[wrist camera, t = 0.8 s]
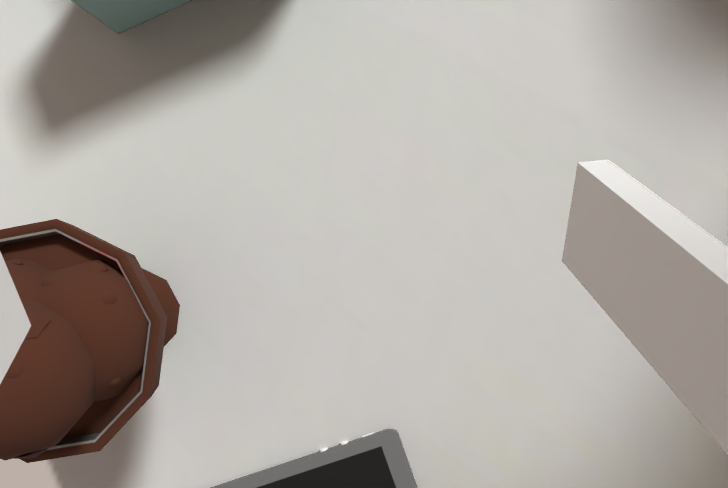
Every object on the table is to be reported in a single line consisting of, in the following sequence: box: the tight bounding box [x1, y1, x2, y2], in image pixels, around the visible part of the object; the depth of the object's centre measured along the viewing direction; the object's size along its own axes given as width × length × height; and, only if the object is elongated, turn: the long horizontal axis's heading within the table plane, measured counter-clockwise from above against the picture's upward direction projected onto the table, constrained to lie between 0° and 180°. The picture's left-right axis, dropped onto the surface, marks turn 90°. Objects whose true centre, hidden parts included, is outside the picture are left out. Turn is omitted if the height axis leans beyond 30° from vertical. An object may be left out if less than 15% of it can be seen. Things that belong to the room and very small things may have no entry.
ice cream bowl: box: [0, 219, 180, 463], centre depth 28 cm, size 11×11×15 cm
